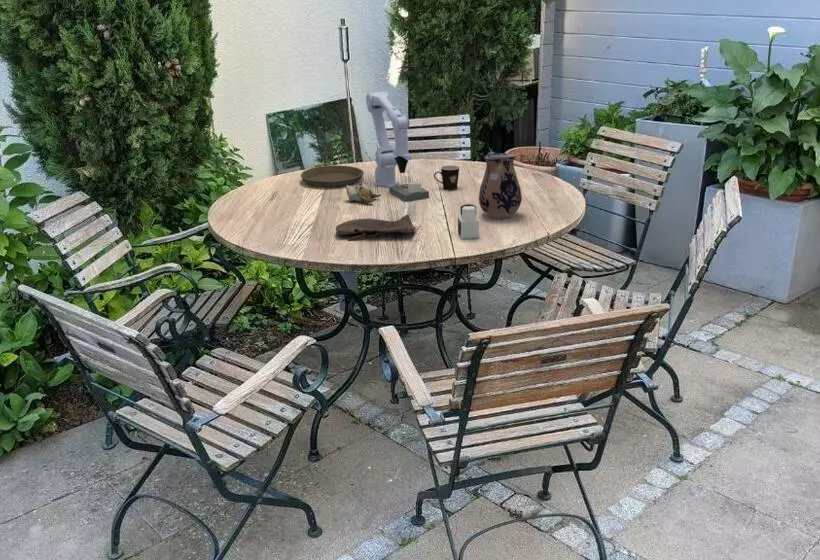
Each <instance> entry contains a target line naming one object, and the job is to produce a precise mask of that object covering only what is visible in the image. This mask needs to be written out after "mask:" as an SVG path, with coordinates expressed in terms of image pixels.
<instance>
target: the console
mask: <svg viewBox="0 0 820 560" xmlns="http://www.w3.org/2000/svg"><path fill="white" fill-rule="evenodd" d="M388 193H389V194H390V195H392V196H394V197H395V198H397V199H400V200H401V201H402V202H405V203H408V202H413V201H418V200H424V199H425V200H426V199H429V198H430V191H429V190H427V189H425V188H423V187H421V192H415V193H410V192H408V183H404V184H397V185H394V186H390V187H388Z"/></svg>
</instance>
